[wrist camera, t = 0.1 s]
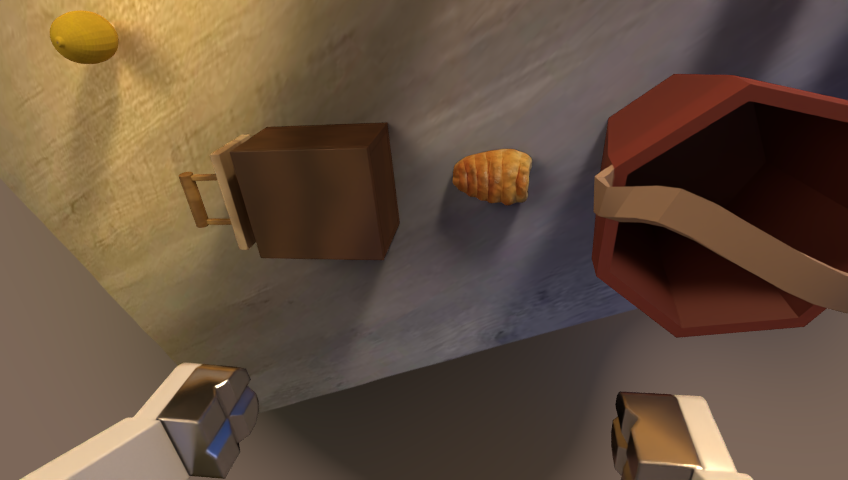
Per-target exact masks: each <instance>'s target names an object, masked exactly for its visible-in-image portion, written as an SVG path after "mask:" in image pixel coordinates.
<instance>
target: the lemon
mask: <svg viewBox="0 0 848 480" xmlns="http://www.w3.org/2000/svg"><path fill="white" fill-rule="evenodd" d="M50 38H51V41H52V44H53V46H54V47H55V49H56V50H57V51H58V52H59V53H60V54H61V55H62V56H64V57H65V58H67V59H69V60H71V61H74V62H77V63H81V64H96V63H100V62H104V61H106V60H108V59H109V58H111V57H112V56H113V55H114V54H115V52H116V51H117V48H118V36H117V33H116V31H115V29H114V27H113V26H112V25H111V24H110V23H109V22H108V21H107V20H106V19H105V18H103V17H102V16H100V15H98V14H95V13H93V12H88V11H72V12H68V13H65V14H63V15H61V16H60V17H58V18H56V19H55V20H54V22H53V23H52V25H51V28H50Z"/></svg>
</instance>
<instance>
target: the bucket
mask: <svg viewBox="0 0 848 480" xmlns="http://www.w3.org/2000/svg"><path fill="white" fill-rule="evenodd" d="M594 213H596V218H595V228H594V239H593V249H592V261H593V265H594V269H595V273H596V276H597V277H598V278H599V279H601V280H602V281H603V282H605V283H606V284H607V285H609V286H610V287H611V288H612V289H614V290H615V291H616V292H618V293H619V294H620V295H622V296H623V297H624V298H625V299H627V300H628V301H629V302H631V303H632V304H633V305H635V306H636V307H637V308H638V309H640V310H641V311H642V312H644V313H645V314H646V315H648V316H649V317H650V318H651V319H653V320H654V321H655V322H657V323H658V324H659V325H661V326H662V327H663V328H665V329H666V330H667V331H669V332H670V333H671V334H673V335H674V336H675V337H689V336H701V335H713V334H724V333H736V332H747V331H759V330H772V329H783V328H795V327H804V326H806V325H807V324H808V323H809V322H811V321H812V320H813V319H814V318H816V317H817V316H818V315H819V314H820V313H821V312H823V311H824V310H825V309H826V308H828V309H832V310H836V311H840V312H843V313H848V100H844V99H840V98H835V97H831V96H826V95H822V94H817V93H812V92H808V91H803V90H799V89H794V88H790V87H785V86H781V85H776V84H771V83H767V82H762V81H758V80H753V79H749V78H744V77H740V76H735V75H701V74H673V75H672V76H670V77H669V78H667V79H666V80H664V81H663V82H661V83H660V84H658V85H657V86H655V87H654V88H652V89H651V90H650V91H648V92H647V93H645V94H644V95H642V96H641V97H639V98H638V99H636V100H635V101H633V102H632V103H630V104H629V105H627V106H626V107H624V108H623V109H621V110H620V111H618V112H617V113H615V114H614V115H612V116H611V117H609V118H608V125H607V131H606V138H605V145H604V151H603V158H602V164H601V171H600V173H599V174H597V175H596V176H595V183H594Z"/></svg>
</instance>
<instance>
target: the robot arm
mask: <svg viewBox="0 0 848 480" xmlns="http://www.w3.org/2000/svg"><path fill="white" fill-rule="evenodd" d="M250 380H251V379H250V377H249V374H248V372H247V370H246V369H245V368H241V367H230V366H220V365H209V364H195V363H182V364H180V365H178V366H177V367H176V368H175V369H174V370H173V371H172V373H171V374H170V375H169V376H168V377H167V378H166V380H165V381H164V382H163V383H162V384H161V386H160V387H159V388H158V389H157V390H156V391H155V393H154V394H153V395H152V396H151V397H150V398H149V400H148V401H147V402H146V403H145V404H144V406H143V407H142V408H141V409H140V411H138V413H137V414H136V415H135V416H134V417H133V418H126V419H124V420H122V421H120V422H118V423H117V424H115V425H113V426H111V427H110V428H108V429H106V430H105V431H103V432H101V433H99V434H98V435H96V436H94V437H92V438H91V439H89V440H87V441H85V442H84V443H82V444H80V445H79V446H77V447H75V448H74V449H72V450H70V451H68V452H66V453H65V454H63V455H61V456H59V457H58V458H56V459H54V460H53V461H51V462H49V463H47V464H46V465H44V466H42V467H40V468H39V469H37V470H35V471H34V472H32V473H30V474H28V475H27V476H25V477H23V478H21V479H20V480H188V479H189V478H190V477H189V476H199V477H200V476H201V477H211V478H223V479H224V478H226V476H227V474H228V472H229V470H230V469H231V467H232V465H233V463H234V461H235V460H236V458H237V457H238V455H239V453H240V447H239V442H240V441H242V440H243V439H244V438H246V437H247V436H248V435H250V433H251V431H252V430H253V428H254V426H255V424H256V421H257V416H258V412H259V403H258V398H257V395H256V393H255V392H254V391H253V390H252V389H250V388H249V387H248V386H247V385H248V383H249V381H250ZM616 410H617V414H618V417H616V418H615V419H614V420H613V424H612V431H611V447H612V455H613V461H614V467H615V469H616V470H617V472H618V473H619V474H620V475H621V476H622V477H621V480H753V479H752V478H751V477H750V476H749V475H748V474H742V473H738V472H737V470H736V467H735V465H734V463H733V461H732V458H731V456H730V454H729V452H728V449H727V447H726V445H725V443H724V440H723V438H722V436H721V433H720V431H719V429H718V427H717V424H716V422H715V420H714V418H713V415H712V413H711V411H710V409H709V406H708V404H707V402H706V400H705V399H704V398H703V397H702V396H687V395H671V394H655V393H636V392H619V393H618V395H617V399H616Z"/></svg>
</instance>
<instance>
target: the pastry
mask: <svg viewBox="0 0 848 480" xmlns="http://www.w3.org/2000/svg"><path fill="white" fill-rule="evenodd" d="M531 168H532V159H531V157H530V156H529V155H527V154H525V153H522V152H519V151H517V150H514V149H500V150H493V151H487V152H482V153H479V154H474V155H470V156H467V157H465V158H463V159H462V160H460V161H459V162H458V163H457V164H456V165H455V166H454V170H453V184H454V185H455V186H456V187H457V188H458V190H460V191H462V192H465V193H466V194H467V195H468V196H470V197H476V198H478V199H479V200H482V201H488V202H489V203H498V202H499V203H500V202H502V203H503V204H504V205H511V204H513V203H516V202H521V203H522V202H525V201H526V199H527V197H528V185H529V172H530V170H531Z"/></svg>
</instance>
